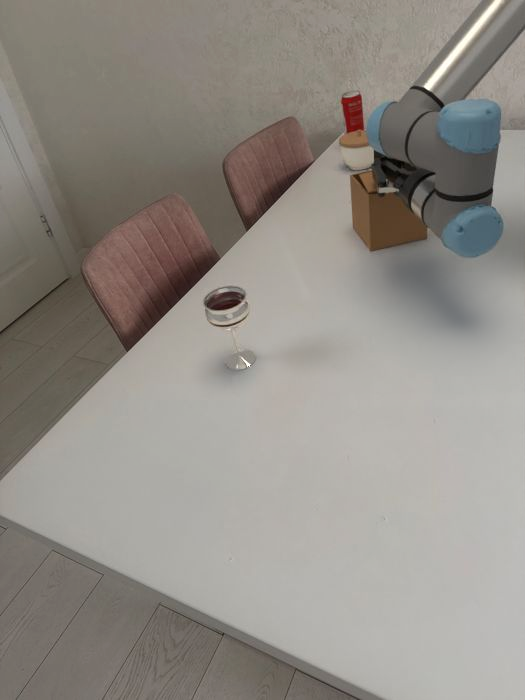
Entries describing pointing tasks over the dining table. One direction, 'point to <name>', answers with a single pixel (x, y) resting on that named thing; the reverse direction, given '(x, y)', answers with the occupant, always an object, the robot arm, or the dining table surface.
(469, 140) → the robot arm
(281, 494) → the dining table surface
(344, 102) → the beverage can
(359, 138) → the trinket box
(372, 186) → the carton flap
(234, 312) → the wineglass
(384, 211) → the carton
